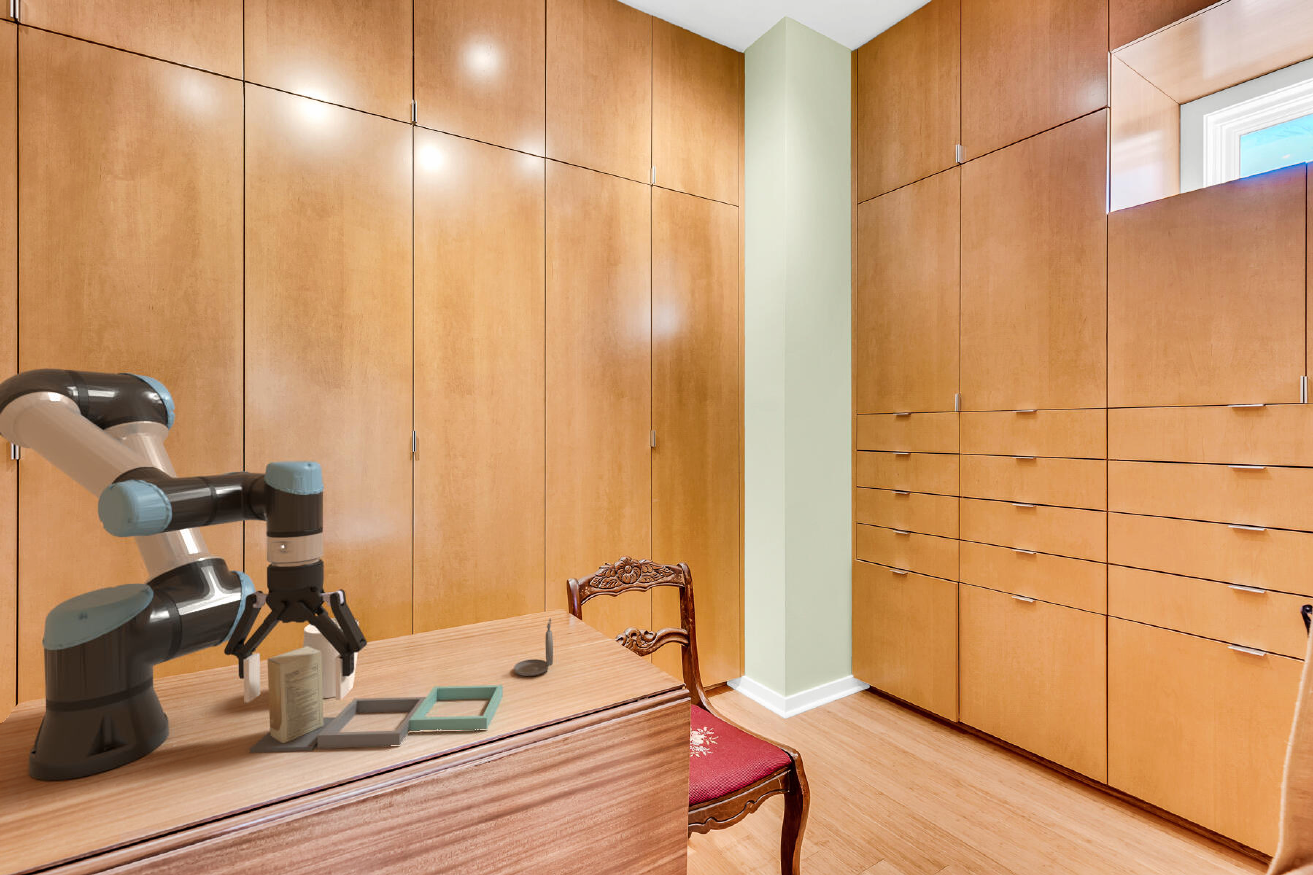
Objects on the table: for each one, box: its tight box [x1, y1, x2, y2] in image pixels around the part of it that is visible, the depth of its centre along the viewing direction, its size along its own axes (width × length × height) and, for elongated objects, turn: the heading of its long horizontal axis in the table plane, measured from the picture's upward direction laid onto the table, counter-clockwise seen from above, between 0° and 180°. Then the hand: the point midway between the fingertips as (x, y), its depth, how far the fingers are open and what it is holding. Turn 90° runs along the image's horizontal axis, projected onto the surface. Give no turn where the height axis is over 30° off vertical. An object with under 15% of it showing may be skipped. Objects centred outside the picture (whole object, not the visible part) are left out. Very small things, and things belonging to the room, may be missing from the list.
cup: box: [302, 617, 360, 699], centre depth 108 cm, size 9×9×12 cm
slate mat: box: [249, 716, 337, 753], centre depth 92 cm, size 9×9×1 cm
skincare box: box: [267, 646, 324, 743], centre depth 92 cm, size 6×4×12 cm
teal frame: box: [409, 684, 504, 731], centre depth 99 cm, size 12×12×2 cm
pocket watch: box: [513, 617, 554, 677], centre depth 117 cm, size 8×8×10 cm
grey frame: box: [317, 696, 427, 750], centre depth 95 cm, size 12×12×2 cm
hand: (297, 697), depth 92 cm, fingers open, 13 cm apart
